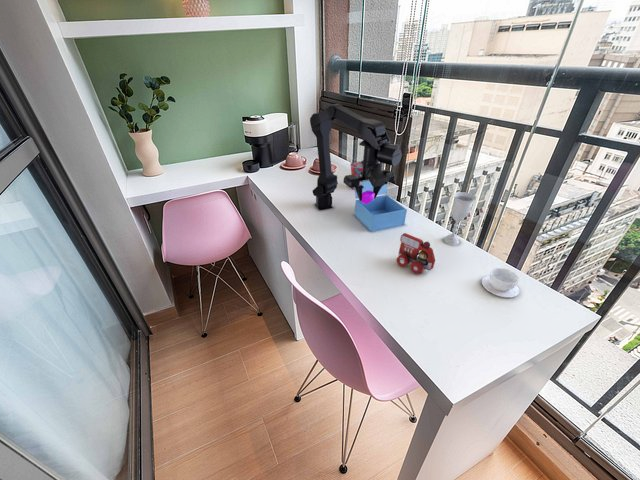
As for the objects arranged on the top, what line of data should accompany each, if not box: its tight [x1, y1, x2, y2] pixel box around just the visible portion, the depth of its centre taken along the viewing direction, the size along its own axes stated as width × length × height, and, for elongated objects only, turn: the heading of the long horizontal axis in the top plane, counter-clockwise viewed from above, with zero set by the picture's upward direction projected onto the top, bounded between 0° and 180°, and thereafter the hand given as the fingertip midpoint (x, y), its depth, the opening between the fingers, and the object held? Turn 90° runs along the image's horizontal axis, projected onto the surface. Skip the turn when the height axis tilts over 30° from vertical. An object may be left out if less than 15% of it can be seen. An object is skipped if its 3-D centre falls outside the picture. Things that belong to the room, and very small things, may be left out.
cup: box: [350, 161, 363, 190], centre depth 153 cm, size 9×8×12 cm
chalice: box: [443, 191, 477, 246], centre depth 108 cm, size 7×7×18 cm
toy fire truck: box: [396, 232, 436, 275], centre depth 99 cm, size 7×12×10 cm, turn 44°
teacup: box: [481, 267, 521, 298], centre depth 91 cm, size 10×10×5 cm
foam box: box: [354, 194, 408, 233], centre depth 126 cm, size 15×15×7 cm
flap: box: [354, 181, 388, 200], centre depth 128 cm, size 7×15×1 cm
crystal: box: [361, 190, 375, 204], centre depth 118 cm, size 5×5×5 cm
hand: (367, 199), depth 119 cm, fingers closed on crystal, 6 cm apart
